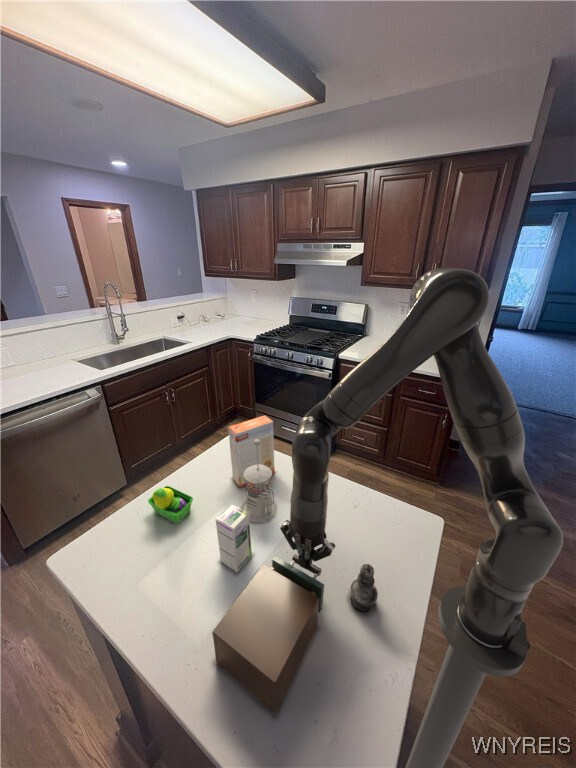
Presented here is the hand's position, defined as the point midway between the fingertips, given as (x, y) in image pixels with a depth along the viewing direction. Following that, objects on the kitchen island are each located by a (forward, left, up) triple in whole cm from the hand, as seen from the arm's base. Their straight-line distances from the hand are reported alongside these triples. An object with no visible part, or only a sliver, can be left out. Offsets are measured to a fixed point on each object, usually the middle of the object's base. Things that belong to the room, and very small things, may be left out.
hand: (305, 564), depth 71 cm
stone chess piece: (-13, -4, -7) cm, 15 cm away
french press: (+22, -13, -7) cm, 26 cm away
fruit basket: (+44, +2, -7) cm, 45 cm away
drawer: (0, +8, -6) cm, 10 cm away
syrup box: (+18, +3, -7) cm, 20 cm away
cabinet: (0, +14, -7) cm, 16 cm away
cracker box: (+34, -25, -7) cm, 42 cm away
